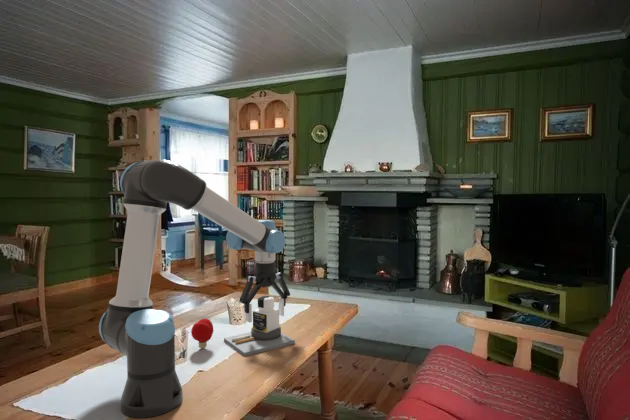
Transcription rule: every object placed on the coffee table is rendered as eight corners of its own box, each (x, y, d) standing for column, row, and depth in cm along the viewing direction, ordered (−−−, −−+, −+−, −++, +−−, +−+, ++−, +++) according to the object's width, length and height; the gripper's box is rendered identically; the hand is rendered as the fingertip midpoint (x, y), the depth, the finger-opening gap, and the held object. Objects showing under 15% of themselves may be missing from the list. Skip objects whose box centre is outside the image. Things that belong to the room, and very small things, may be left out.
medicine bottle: (252, 329, 156) (252, 297, 155) (265, 324, 161) (265, 293, 161) (266, 333, 151) (266, 300, 151) (279, 328, 157) (279, 296, 156)
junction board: (244, 356, 140) (244, 349, 140) (224, 341, 154) (223, 335, 154) (294, 343, 151) (294, 337, 151) (271, 330, 165) (271, 324, 165)
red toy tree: (205, 354, 141) (205, 325, 141) (186, 353, 143) (186, 324, 142) (217, 344, 150) (217, 317, 150) (199, 343, 152) (199, 316, 151)
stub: (259, 342, 149) (259, 335, 149) (246, 334, 158) (246, 327, 158) (286, 336, 155) (286, 329, 155) (271, 328, 164) (271, 322, 164)
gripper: (238, 266, 145) (239, 327, 146) (299, 259, 159) (299, 314, 160) (229, 263, 151) (230, 321, 152) (288, 257, 165) (288, 310, 166)
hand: (265, 318), depth 156 cm, fingers open, 13 cm apart
